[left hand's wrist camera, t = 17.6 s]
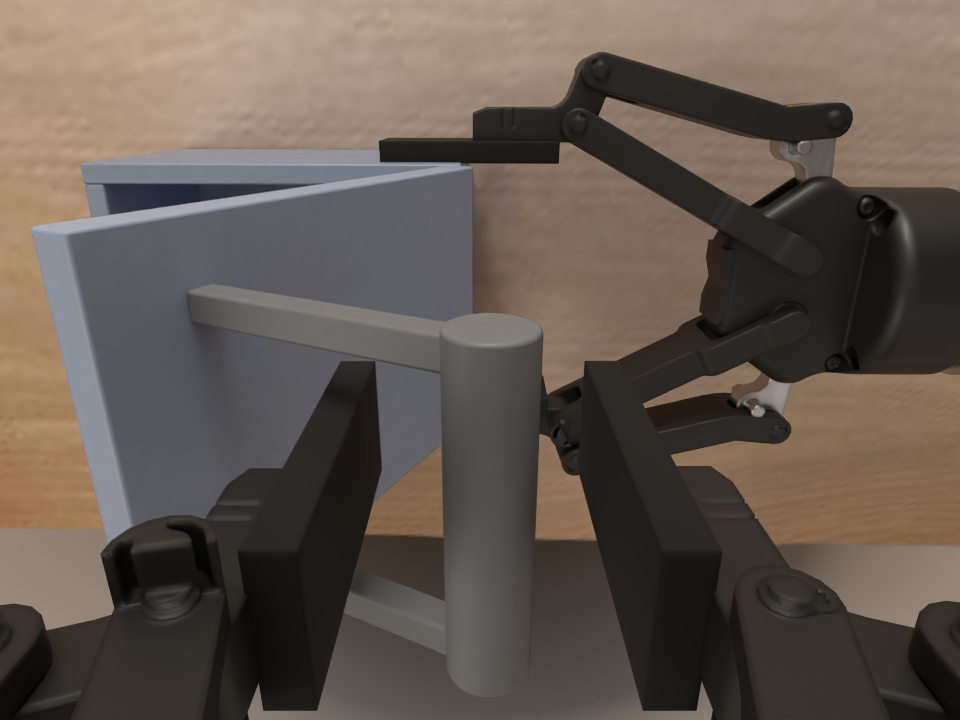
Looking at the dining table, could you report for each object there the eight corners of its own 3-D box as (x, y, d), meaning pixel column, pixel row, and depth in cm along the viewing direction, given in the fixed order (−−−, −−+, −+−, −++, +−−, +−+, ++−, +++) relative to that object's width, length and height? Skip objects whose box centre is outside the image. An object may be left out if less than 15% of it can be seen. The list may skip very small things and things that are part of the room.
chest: (213, 337, 34) (130, 408, 26) (184, 148, 31) (79, 163, 23) (467, 338, 34) (462, 409, 26) (466, 149, 31) (460, 164, 23)
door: (134, 661, 14) (466, 844, 11) (27, 226, 11) (463, 284, 7) (451, 413, 26) (660, 461, 23) (447, 165, 23) (694, 176, 19)
